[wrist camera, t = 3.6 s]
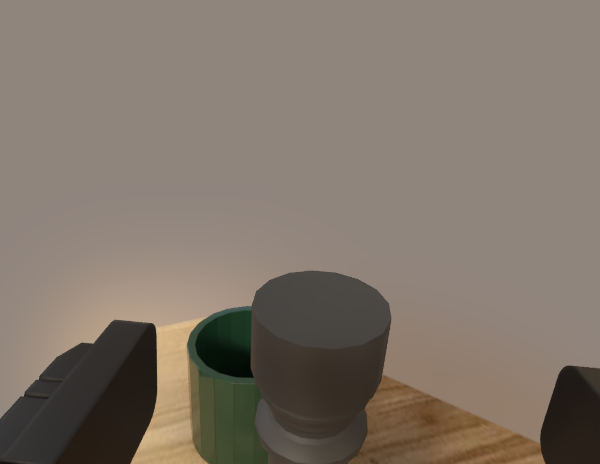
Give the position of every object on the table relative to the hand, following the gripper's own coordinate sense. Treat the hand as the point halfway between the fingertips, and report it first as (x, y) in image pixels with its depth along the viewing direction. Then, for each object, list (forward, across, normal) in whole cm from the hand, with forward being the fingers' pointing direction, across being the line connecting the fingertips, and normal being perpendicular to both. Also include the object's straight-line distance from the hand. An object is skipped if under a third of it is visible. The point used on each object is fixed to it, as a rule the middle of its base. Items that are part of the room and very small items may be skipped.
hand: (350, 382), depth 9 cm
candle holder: (+12, 0, +28) cm, 31 cm away
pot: (+28, +5, +27) cm, 39 cm away
